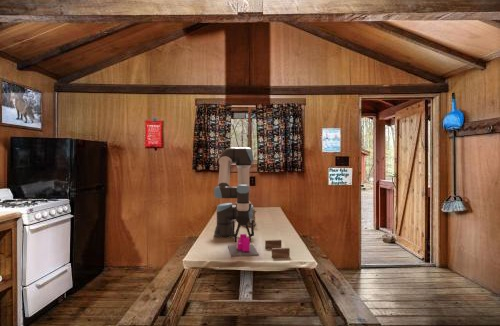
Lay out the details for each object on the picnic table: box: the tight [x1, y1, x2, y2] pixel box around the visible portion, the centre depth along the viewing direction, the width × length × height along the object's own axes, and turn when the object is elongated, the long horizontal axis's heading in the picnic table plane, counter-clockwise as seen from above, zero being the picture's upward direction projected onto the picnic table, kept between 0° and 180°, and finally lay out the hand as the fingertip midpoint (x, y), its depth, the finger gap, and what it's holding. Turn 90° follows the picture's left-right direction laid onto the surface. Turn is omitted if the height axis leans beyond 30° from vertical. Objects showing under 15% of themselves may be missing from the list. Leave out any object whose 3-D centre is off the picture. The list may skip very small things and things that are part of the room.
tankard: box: [241, 207, 257, 227], centre depth 276 cm, size 20×13×15 cm, turn 25°
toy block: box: [237, 233, 250, 251], centre depth 200 cm, size 15×6×8 cm, turn 9°
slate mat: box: [227, 243, 260, 258], centre depth 200 cm, size 22×16×1 cm
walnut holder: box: [264, 239, 291, 259], centre depth 197 cm, size 21×10×5 cm, turn 9°
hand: (242, 247), depth 200 cm, fingers closed on toy block, 6 cm apart
